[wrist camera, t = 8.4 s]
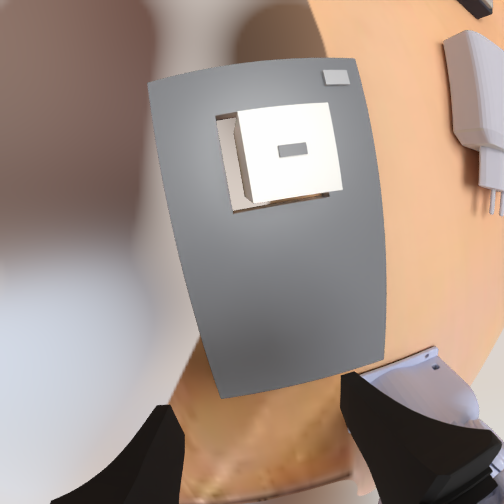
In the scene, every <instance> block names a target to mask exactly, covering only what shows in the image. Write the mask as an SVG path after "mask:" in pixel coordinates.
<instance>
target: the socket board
mask: <svg viewBox="0 0 504 504" xmlns="http://www.w3.org/2000/svg"><path fill="white" fill-rule="evenodd" d="M147 84H148V91H149V99H150V107H151V113H152V121H153V127H154V133H155V140H156V146H157V152H158V158H159V164H160V169H161V175H162V180H163V184H164V190H165V195H166V200H167V204H168V210H169V214H170V219H171V223H172V227H173V232H174V237H175V241H176V245H177V250H178V254H179V258H180V262H181V266H182V270H183V274H184V278H185V282H186V286H187V289H188V293H189V297H190V300H191V304H192V307H193V311H194V314H195V318H196V322H197V325H198V329H199V332H200V335H201V339H202V342H203V345H204V349H205V352H206V355H207V358H208V361H209V365H210V368H211V371H212V374H213V377H214V380H215V383H216V386H217V389H218V392H219V395H220V398H221V399H224V398H231V397H237V396H243V395H249V394H255V393H260V392H265V391H270V390H275V389H280V388H285V387H289V386H294V385H298V384H302V383H306V382H310V381H314V380H318V379H322V378H325V377H329V376H333V375H336V374H340V373H343V372H346V371H350V370H353V369H356V368H359V367H362V366H365V365H369V364H372V363H374V362H377V361H380V360H383V359H384V347H385V329H386V251H385V233H384V219H383V207H382V197H381V188H380V180H379V172H378V165H377V159H376V152H375V146H374V140H373V135H372V129H371V124H370V119H369V114H368V109H367V105H366V100H365V96H364V92H363V88H362V84H361V80H360V76H359V72H358V68H357V65H356V61H355V59H353V58H300V59H299V58H296V59H279V60H267V61H258V62H249V63H240V64H233V65H227V66H220V67H214V68H209V69H204V70H198V71H193V72H189V73H184V74H180V75H175V76H172V77H167V78H163V79H160V80H156V81H153V82H149V83H147ZM326 102H328V105H329V110H330V115H331V120H332V125H333V130H334V136H335V141H336V147H337V153H338V160H339V166H340V173H341V180H342V187H343V190H338V191H331V192H324V193H322V196H316V197H310V198H303V199H297V200H291V201H285V202H280V203H274V204H268V205H263V206H257V207H252V208H247V209H242V210H236V211H233V210H232V205H231V200H230V194H229V189H228V184H227V178H226V173H225V168H224V163H223V157H222V152H221V146H220V140H219V135H218V129H217V124H216V121H217V120H223V119H228V118H234V117H237V111H243V110H250V109H257V108H265V107H274V106H284V105H295V104H308V103H326Z"/></svg>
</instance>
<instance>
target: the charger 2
mask: <svg viewBox="0 0 504 504" xmlns="http://www.w3.org/2000/svg"><path fill="white" fill-rule="evenodd" d="M443 45H444V50H445V56H446V62H447V68H448V75H449V83H450V91H451V102H452V115H453V132H454V134H455V135H456V137H457V138H458V140H459V141H460V143H461V144H462V145H463V146H465V147H468V148H470V149H473V150H476V151H478V152H479V186H481V187H483V188H487V189H490V190H491V198H490V210H489V213H490V214H492V215H493V214H494V206H495V192H496V191H497V192H501V199H500V211H499V215H500V216H503V214H504V51H503V50H502V49H501V48H499V47H498V46H497V45H495V44H494V43H493V42H491V41H490V40H489V39H487V38H486V37H484V36H483V35H481V34H479V33H477V32H474V31H471V30H465V31H463V32H461V33H459V34H456V35H454V36H452V37H450V38H448V39H446V40H444V41H443Z"/></svg>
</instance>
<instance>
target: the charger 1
mask: <svg viewBox="0 0 504 504" xmlns="http://www.w3.org/2000/svg"><path fill="white" fill-rule="evenodd" d="M234 138H235V143H236V149H237V155H238V161H239V166H240V172H241V178H242V183H243V189H244V195H245V197H246V198H248V199H249V200H250V201H251V202H252V203H253V204H255V203H261V202H266V201H273V200H279V199H285V198H291V197H297V196H304V195H310V194H317V193H324V192H331V191H338V190H343V187H342V180H341V173H340V166H339V160H338V153H337V147H336V141H335V136H334V130H333V125H332V120H331V115H330V110H329V105H328V102H326V103H308V104H295V105H284V106H274V107H265V108H257V109H250V110H243V111H237V117H236V123H235V129H234Z"/></svg>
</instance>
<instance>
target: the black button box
mask: <svg viewBox="0 0 504 504" xmlns="http://www.w3.org/2000/svg"><path fill="white" fill-rule="evenodd" d="M457 1H458V2H459V3H460V4H462V5H463V6H464V7H465V8H466V9H467V10H468V11H469V12H470V13H471V14H472V15H473V16H474V17H475V18H476V19H480V18H482V17H485V16H488V15H491V14H492V8H493V0H457Z"/></svg>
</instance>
